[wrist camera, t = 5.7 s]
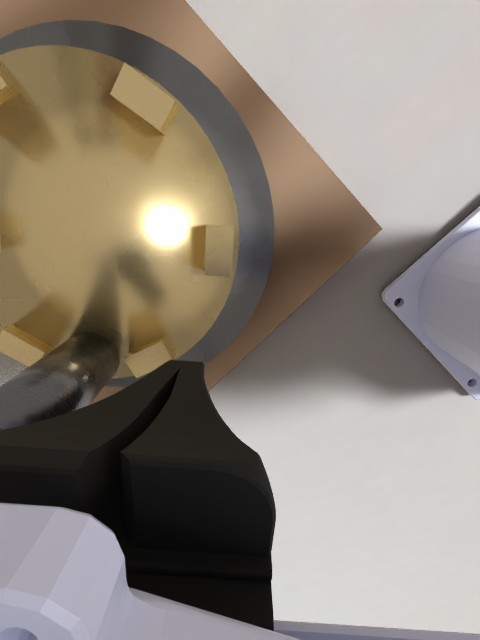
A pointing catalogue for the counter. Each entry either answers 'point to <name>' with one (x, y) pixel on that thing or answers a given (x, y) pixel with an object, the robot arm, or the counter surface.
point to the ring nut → (102, 228)
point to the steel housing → (226, 140)
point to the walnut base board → (273, 147)
